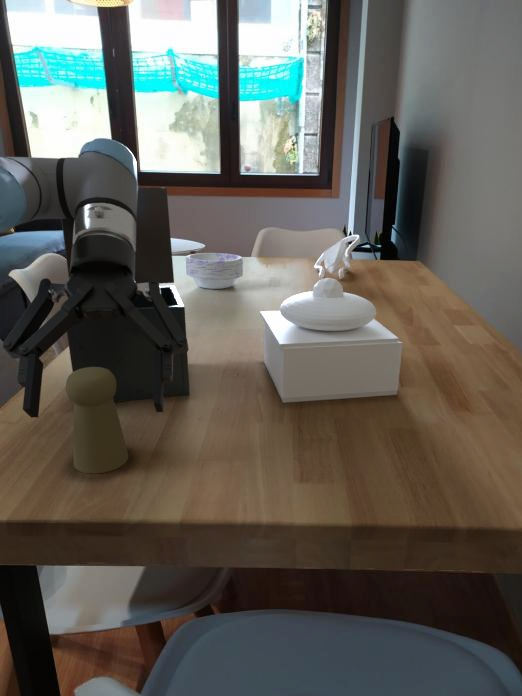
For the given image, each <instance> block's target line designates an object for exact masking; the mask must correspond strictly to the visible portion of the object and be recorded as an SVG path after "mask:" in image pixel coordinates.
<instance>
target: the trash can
mask: <svg viewBox="0 0 522 696" xmlns="http://www.w3.org/2000/svg"><path fill="white" fill-rule="evenodd" d="M160 290H161V295H162V297H163V299H164V300H165V302H166V304H167V305H168V307H169V309H170V310H171V312H172V314H173V316H174V317H175V319H176V321H177V322H178V324H179V326H180V327H181V329H182V331H183V333H184V334H185V336H186V337H187V325H186V324H187V323H186V307H185V305H184V303H183V300H182V299H181V297H180V295H179V293H178V291H177V288H176V286H175V285H160ZM132 303H133V304H134V305H135V307H136V308H137V309H138V310H139V311H140V312H141V313H142V314H143V315H144V316H145V317H146V318H147V319H148V320H149V321H150V322H151V323H152V324H153V325H154V326H155V327H156V328H157V329H158V331H159V332H160V333H161V334H162V335H163V336H164V337H165V338H166V339H167V340H168V341H169V339H170V341H172V338H171V337H170V335H169V333H168V331H167V330H166V328H165V326H164V324H163V323H162V321H161V319H160V318H159V316H158V314H157V312H156V311H155V309H154V306H153V303H152V301H151V302H149V301H147V300H146V299H145V298H144V296H143V295H141V294H138V297H137V298H136V299H135V300H134V301H133V302H132ZM76 310H77V308H75V311H76ZM66 336H67V344H68V350H69V357H70V364H71V370H72V371H71V372H74V371H76V370H78V369H82V368H86V367H102V368H105V369H108V370H110V371H111V372H112V374H113V375H114V376H115V379H116V393H115V395H114V396H113V400H114V403H116V402H117V403H118V402H127V401H136V400H146V399H154V350H156V348H155V347H154V346H153V345H152V344H151V343H150V342H149V341H148V340H147V339H146V338H145V337H144V336H143V335H142V334H141V333H140V332H139V331H138V330H137V329H136V328H135V327H134V326H133V325H132V324H131V323H129V322H128V321H127V320H126V319H125V318H124V317H123V316H122V315H121V316H119V317H116V319H113V320H109V319H104V318H101V319H97V320H89V319H88V318H86V317H85V318H84V319H83V320H82V321H81V322H80V323H78V324H77V325H73V326H72V327H71V328H70V329H69V330H68V331H67V332H66ZM188 357H189V356H188V352H187V353H184V354H183V353H179V354H177V355H175V356H174V358H173V379H172V382H164V383H163V398H166V397H177V396H186V395H190V377H189V375H190V374H189V358H188Z"/></svg>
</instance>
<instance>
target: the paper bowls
mask: <svg viewBox="0 0 522 696" xmlns="http://www.w3.org/2000/svg"><path fill="white" fill-rule="evenodd" d="M243 259H244V258H243V257H242V255H238V254H232V253H225V252H224V253H223V252H221V253H220V252H200V253H192V254H188V255H186V256H185V273H186V275H187V276H188V277H190V278H192V279H193V282H194V283H195V285H196V286H197V287H199V288H203V289H209V290H219V289H227V288H231V287H233V286H234V285H235V283H236V281H237V279H239V278H241V277H243V275H244V269H243V268H244V265H243V264H244V261H243Z"/></svg>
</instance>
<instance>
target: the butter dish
mask: <svg viewBox="0 0 522 696" xmlns="http://www.w3.org/2000/svg"><path fill="white" fill-rule="evenodd" d="M259 315H260V318H261V319H262V321H263V363H264V365H265V367H266V370H267V372H268V374H269V376H270V378H271V380H272V382H273V384H274V386H275V389H276V391H277V393H278V395H279V397H280V399H281V402H282V404H283V403H284V404H285V403H286V404H287V403H300V402H313V401H328V400H341V399H342V400H343V399H356V398H357V399H358V398H369V397H370V398H371V397H383V396H386V397H387V396H397V395H398V390H399V382H400V372H401V363H402V362H401V361H402V355H403V354H402V353H403V342H402V341H400V339H399V337H398V336H397V335H396V334H394V333H393V332H392V331H390V330H388V328H387V327H385V326H384V325H382V323H380V322H379V321H378V320H377V319H375V318H376V316H377V309H376V306H375V305H374V303H372V302H371V301H370V300H368V299H366V298H364V297H362V296H360V295H358V294H354V293H351V292H350V293H349V292H344V288H343V285H342V284H341V283H340V282H339V280H337V279H336V278H332V277H325V278H321V279H318V281H317V282H316V283H315V284H314V285H313V288H312V291H306V292H301V293H298V294H294V295H292V296H290V297H288V298H286V299H285V300H283V302H282V303H281V304H280V307H279V310H262V311H259Z"/></svg>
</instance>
